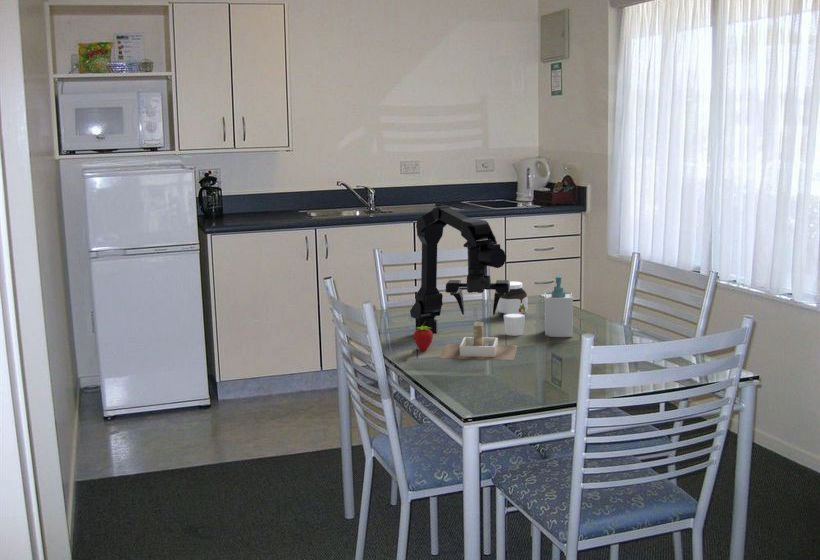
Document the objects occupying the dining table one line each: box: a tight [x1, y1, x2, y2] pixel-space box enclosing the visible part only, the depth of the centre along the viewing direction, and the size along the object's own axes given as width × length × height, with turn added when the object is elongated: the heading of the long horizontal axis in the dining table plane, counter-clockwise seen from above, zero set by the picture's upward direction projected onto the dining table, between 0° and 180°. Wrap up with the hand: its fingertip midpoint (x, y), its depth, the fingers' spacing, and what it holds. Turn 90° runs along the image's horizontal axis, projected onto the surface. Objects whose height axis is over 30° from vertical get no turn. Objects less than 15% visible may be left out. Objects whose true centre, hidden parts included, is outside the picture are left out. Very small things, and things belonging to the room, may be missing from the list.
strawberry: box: [413, 321, 434, 352], centre depth 273 cm, size 6×8×10 cm
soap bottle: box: [544, 273, 574, 338], centre depth 289 cm, size 9×9×19 cm
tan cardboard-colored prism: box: [472, 321, 485, 346], centre depth 269 cm, size 2×5×8 cm, turn 169°
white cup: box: [503, 313, 526, 337], centre depth 288 cm, size 7×7×7 cm
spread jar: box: [497, 281, 529, 317], centre depth 317 cm, size 12×11×12 cm
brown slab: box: [439, 343, 518, 361], centre depth 270 cm, size 22×16×1 cm
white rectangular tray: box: [460, 336, 499, 357], centre depth 269 cm, size 10×10×3 cm
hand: (478, 314), depth 267 cm, fingers open, 9 cm apart
